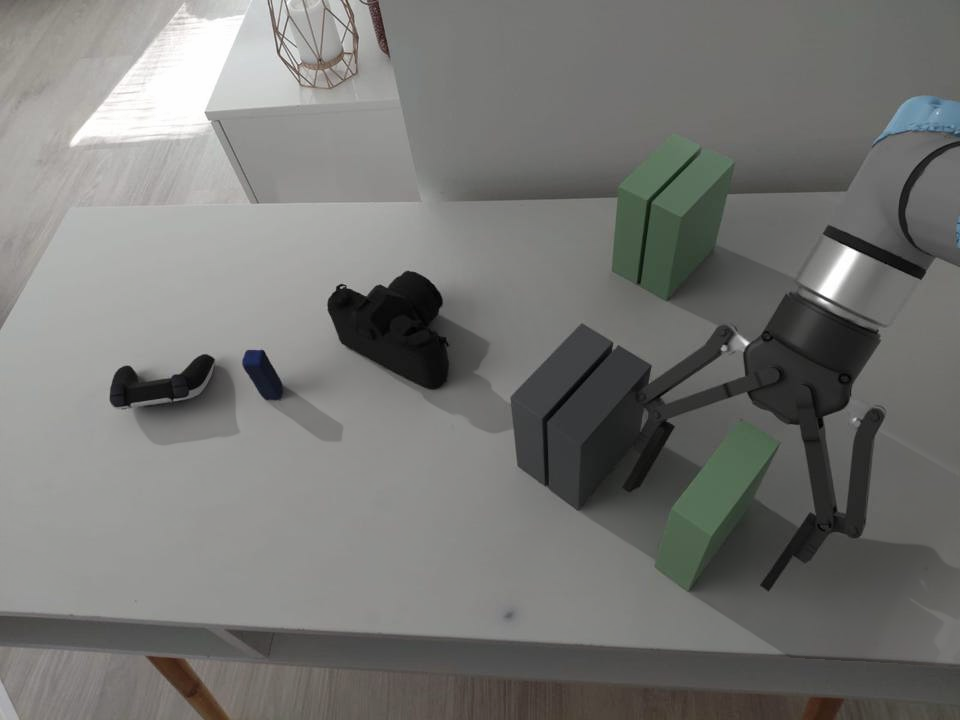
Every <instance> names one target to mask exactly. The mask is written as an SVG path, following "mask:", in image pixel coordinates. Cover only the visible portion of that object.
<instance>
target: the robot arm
mask: <svg viewBox="0 0 960 720" xmlns="http://www.w3.org/2000/svg"><path fill="white" fill-rule="evenodd" d="M840 200H841V201H840V202H839V204H838V206H837V207H836V209H835V211H834V212H833V214H832V216H831V218H830V220H829V221H828V223H827V225H826V227H825V229H824V231H823V232H822V234H820V235H819V237H818V239H816V242H815V244H814V245H813V247H812V248H811V251H810V252H809V254H808V256H807V257H806V259H805V260H804V262H803V264H802V265H801V267H800V269H799V271H797V274H796V275H795V277H794V282H795V284H796V285H797V286H798V288H797V290H790V291H789V292H786V293H785V294H784V296H783V297H782V299H781V300H780V302H779V304H778V305H777V307H776V309H775V310H774V312H773V314H772V315H771V318H770V319H769V321H768V323H766V325H765V328H764V329H763V331H762V332H761V334H760V335H759V336H758V337H757V338H755V339H754V340H751V339H750V338H748V337H747V336H745V335H744V334H742V333H741V332H739V331H738V327H737V326H736V325H735V324H731V323H730V324H719V325H718V326H717V327H716V328H715V330H714V331H713V333H712V334H711V335H710V337H709V338H708V339H707V341H706V343H705V344H704V345H703V346H701V347H700V348H699V349H697V350H696V351H694V352H693V353H691V354H689V355H688V356H686V358H684V359H682V360H681V361H680V362H678V363H677V364H676V365H674V366H672V367H671V368H669V369H668V370H667V371H665V372H664V373H662V374H661V375H659V376H658V377H657V378H655V379H654V380H652V381H651V382H649V384H648V385H647V386H645V387H644V388H642V389H641V390H639V391H638V392H637V393H636V401H637V402H638V403H640V404H642V405H643V406H644V410H646V412H647V418H646V421H645V423H644V424H643V426H642V427H641V430H640V433H639V435H638V437H637V438H636V440H635V442H634V445H633V447H632V448H633V450H634V451H636V452H638V453H639V454H640V455H639V457H638V459H637V461H636V462H635V464H634V466H633V468H632V469H631V471H630V473H629V474H628V476H627V478H626V480H625V481H624V483H623V485H622V487H621V489H622V490H623V491H625V492H627V494H630V493H632V492H634V491H636V490H637V489H639V488H640V487H641V486H642V484H643V483H644V481H645V479H646V477H647V476H648V474H649V472H650V471H651V469H652V467H653V465H654V464H655V462H656V461H657V458H658V457H659V455H660V453H661V452H662V450H663V448H664V447H665V444H666V443H667V441H668V439H669V438H670V436H671V434H672V432H673V431H674V430H675V428H676V425H674V424H673V423H671V422H670V421H668V420H669V419H671V418H674V417H677V416H680V415H684V414H686V413H689V412H692V411H695V410H698V409H701V408H704V407H707V406H710V405H713V404H716V403H718V402H722V401H725V400H727V399H731V398H733V397H736V396H739V395H742V394H745V393H746V394H747V396H748V398H749V400H750V401H751V402H752V403H751V404H752V405H753V406H755V407H757V408H758V409H760V410H763V411H766V412H770V413H771V414H773V415H774V416H775V417H776V419H777V420H779V421H781V422H782V423H784V424H786V425H787V426H788V425H793V426H799V429H800V434H801V435H800V436H801V439H802V442H803V445H804V451H805V457H806V463H807V469H808V476H809V482H810V488H811V493H812V500H813V506H814V512H815V514H814V513H813V512H811V511H810V512H809V513H808V515H807V516H806V517H805V519H804V520H803V521H802V523H801V525H800V526H799V528H798V529H796V530H797V531H796V532H795V533H794V535H793V536H792V538H791V539H790V541H789V542H788V544H787V545H786V547H784V549H783V551H782V552H781V554H780V555H779V557H778V558H777V560H776V561H775V563H774V564H773V565H772V567H771V568H770V570H769V572H768V573H767V575H766V576H765V577H764V579H763V580H762V581H761V583H760V585H759V586H760V587H761V588H762V589H764V590H766V591H767V592H770V590H771V589H772V588H773V586H774V584H775V583H776V582H777V581H778V579H779V578H780V576H781V574H782V573H783V572H784V570H785V569H786V567H787V566H788V564H789V563H790V562H791V560H792V558H793V557H794V558H796V559H797V560H799V561H800V562H801V563H803V564H806V563H808V562H811V560H812V558H813V557H814V556H815V555H816V553H817V551H818V550H819V549H820V547H821V546H822V545H823V543H824V541H825V540H826V538H827V537H828V536H829V535H831V534H833V533H839V534H842V535H845V536H847V537H848V538H850V539H859V538H860V537H861V536H862V535H863V533H864V530H865V527H866V524H867V515H868V513H867V512H868V505H869V495H870V485H871V475H872V468H873V467H872V466H873V458H874V450H875V449H874V448H875V440H876V439H875V438H876V435H877V433H878V431H879V430H880V428H881V426H882V424H883V422H884V420H885V419H886V417H887V410H886V408H885V407H884V406H882V405H878V404H876V405H872V404H870V403H868V402H865V401H863V400H861V399H859V398H856V397H854V396H852V389H853V386H854V383H855V381H856V380H857V378H859V375H860V374H861V372H862V371H863V369H864V368H865V367H866V365H867V363H868V362H869V360H870V359H871V357H872V356H873V354H874V353H875V352H876V349H877V348H878V346H880V344H881V342H882V339H881V337H882V335H881V334H880V333H879V332H880V327H881V328H890V327H891V326H892V325H893V324H894V322H895V320H896V319H897V318H898V316H899V315H900V313H901V312H902V310H903V309H904V307H905V305H906V304H907V303H908V301H909V299H910V298H911V296H912V295H913V294H914V292H915V290H916V289H917V288H918V286H919V285H920V283H921V281H922V280H923V279H924V277H925V275H926V274H927V271H928V270H929V268H930V267H931V265H932V264H933V262H934V261H935V260H936V258H937V259H939V260H941V261H944V262H946V263H949V264H951V265H953V266H955V267H958V268H960V101H955V100H948V99H944V98H942V97H939V96H935V95H918V96H914V97H911V98H909V99H907V100H906V101H904V102H903V103H902V104H901V105H900V106H899V108H898V109H897V111H896V112H895V114H894V115H893V117H892V118H891V120H890V122H888V125H887V126H886V127H885V129H884V130H883V132H882V133H881V134H880V135H878V137H877V138H876V139H875V140H874V141H873V143H872V145H871V147H870V150H869V152H868V154H867V155H866V158H865V159H864V161H863V163H862V165H861V166H860V168H859V170H858V171H857V173H856V174H855V176H854V178H853V180H852V182H851V183H850V185H849V187H848V189H847V190H846V192H845V193H844V195H843V197H842V199H840ZM738 351H739V352H742V359H743V368H744V375H743V376H741V377H739V378H736V379H733V380H730V381H728V382H725V383H722V384H719V385H716V386H713V387H710V388H708V389H705V390H702V391H699V392H696V393H694V394H690V395H687V396H684V397H681V398H679V399H677V400H673V401H670V402H668V403H665V401H664V400H663V398H661V397H663V396H664V395H666V394H668V392H670V391H671V390H673V389H674V388H676V387H678V386H679V385H680V384H682V383H684V382H685V381H686V380H688V379H689V378H691V377H692V376H693V375H696V373H698V372H699V371H702V370H703V369H704V368H706V367H707V366H708V365H710V364H711V363H713V362H714V361H716V360H717V359H718V358H720V357H721V356H722V355H723V356H730V355H733V354H735V353H736V352H738ZM842 410H845V411H846V412H848V415H849V420H848V424H849V427H850V428H851V429H852V430H854V431H856V432H855V434H854V438H853V443H852V452H851V461H850V471H849V481H848V490H847V491H848V492H847V501H846V510H845V512H841V511H839V509H838V504H837V499H836V491H835V485H834V479H833V475H832V468H831V461H830V456H829V455H830V454H829V450H828V444H827V443H828V442H827V438H826V437H827V435H826V433H827V431H826V426H825V425H826V424H825V419H824V417H827V416H830V415H832V414H835V413H839V412H841V411H842Z"/></svg>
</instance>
